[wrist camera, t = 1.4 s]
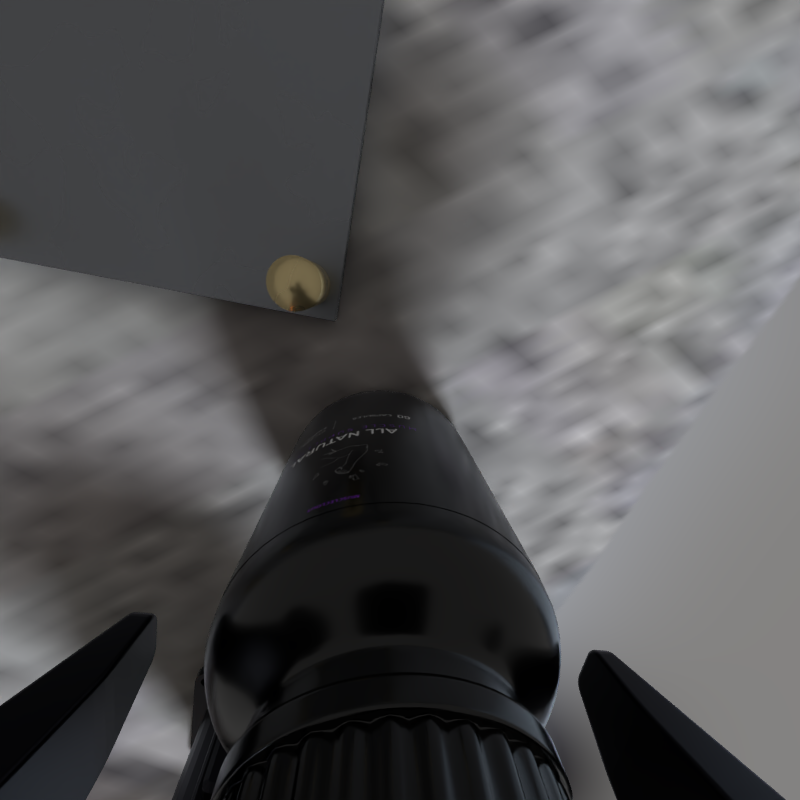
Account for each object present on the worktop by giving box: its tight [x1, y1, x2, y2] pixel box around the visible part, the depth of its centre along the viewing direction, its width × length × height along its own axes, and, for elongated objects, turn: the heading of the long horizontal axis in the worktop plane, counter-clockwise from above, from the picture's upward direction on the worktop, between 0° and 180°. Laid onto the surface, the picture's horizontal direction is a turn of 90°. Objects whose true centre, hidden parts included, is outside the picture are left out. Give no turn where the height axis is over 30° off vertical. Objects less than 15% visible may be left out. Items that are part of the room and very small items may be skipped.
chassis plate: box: [0, 0, 384, 321], centre depth 9 cm, size 13×13×3 cm
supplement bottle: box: [204, 391, 573, 800], centre depth 9 cm, size 7×7×12 cm
